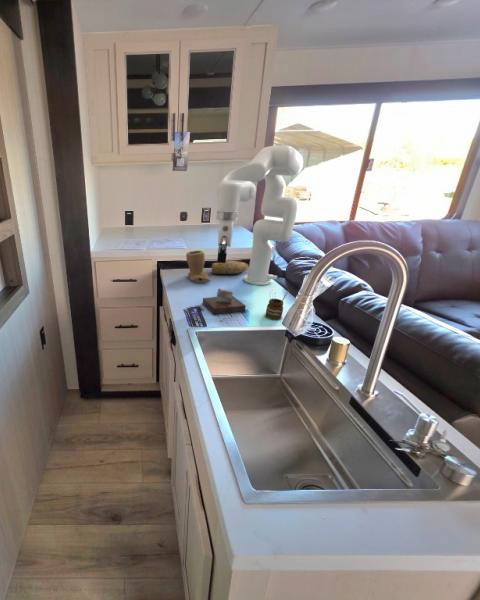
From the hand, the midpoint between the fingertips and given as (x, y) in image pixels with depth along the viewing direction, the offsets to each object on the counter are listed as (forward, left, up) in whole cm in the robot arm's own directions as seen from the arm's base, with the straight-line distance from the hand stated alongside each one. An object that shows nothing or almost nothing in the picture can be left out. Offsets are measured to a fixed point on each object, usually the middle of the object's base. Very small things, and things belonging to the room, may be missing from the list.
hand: (221, 259), depth 127 cm
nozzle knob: (-3, +1, -18) cm, 18 cm away
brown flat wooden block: (-3, +1, -21) cm, 21 cm away
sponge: (-13, -47, -21) cm, 53 cm away
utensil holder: (-22, +7, -21) cm, 31 cm away
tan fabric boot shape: (+6, -34, -21) cm, 40 cm away
